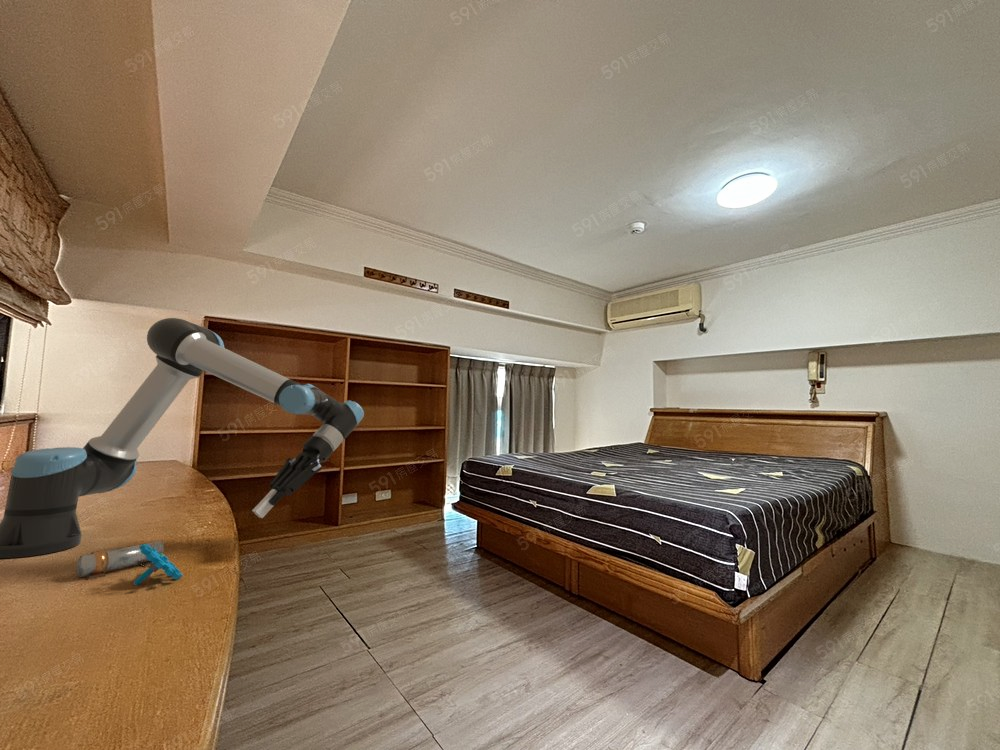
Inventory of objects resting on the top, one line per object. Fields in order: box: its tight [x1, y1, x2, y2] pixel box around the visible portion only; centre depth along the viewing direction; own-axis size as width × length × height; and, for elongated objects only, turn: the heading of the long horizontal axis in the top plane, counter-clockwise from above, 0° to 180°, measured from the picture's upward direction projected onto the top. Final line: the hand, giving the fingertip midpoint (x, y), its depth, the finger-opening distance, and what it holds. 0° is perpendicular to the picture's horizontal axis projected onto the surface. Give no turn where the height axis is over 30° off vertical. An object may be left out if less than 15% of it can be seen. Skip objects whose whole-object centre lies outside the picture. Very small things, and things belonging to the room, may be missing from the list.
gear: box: [133, 543, 183, 586], centre depth 80 cm, size 11×6×10 cm
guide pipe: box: [76, 540, 165, 580], centre depth 86 cm, size 5×13×5 cm, turn 151°
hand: (257, 514), depth 98 cm, fingers closed
